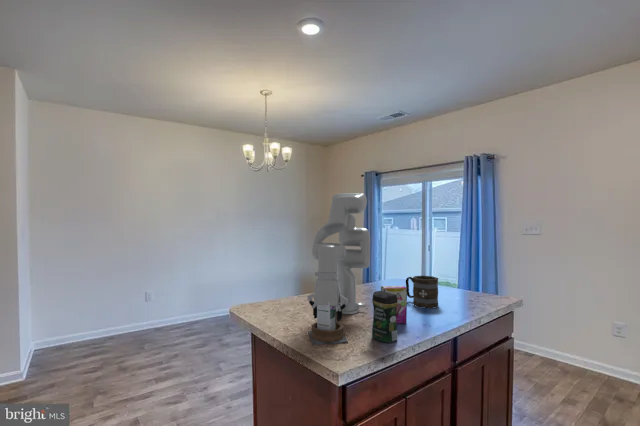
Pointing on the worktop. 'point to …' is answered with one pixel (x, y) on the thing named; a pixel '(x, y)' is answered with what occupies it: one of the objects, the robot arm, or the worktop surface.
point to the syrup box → (326, 317)
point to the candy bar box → (399, 301)
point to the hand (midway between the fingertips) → (327, 318)
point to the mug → (424, 291)
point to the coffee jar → (384, 316)
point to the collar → (327, 335)
